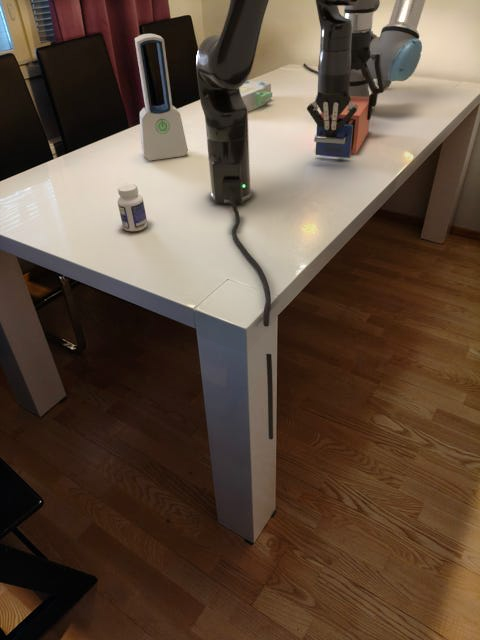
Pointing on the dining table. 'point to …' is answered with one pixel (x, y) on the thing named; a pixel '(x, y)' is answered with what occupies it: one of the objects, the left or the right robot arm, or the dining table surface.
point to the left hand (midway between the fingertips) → (330, 143)
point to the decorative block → (255, 94)
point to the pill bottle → (131, 208)
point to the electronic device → (159, 110)
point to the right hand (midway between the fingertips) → (349, 117)
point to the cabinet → (358, 121)
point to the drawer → (335, 141)
